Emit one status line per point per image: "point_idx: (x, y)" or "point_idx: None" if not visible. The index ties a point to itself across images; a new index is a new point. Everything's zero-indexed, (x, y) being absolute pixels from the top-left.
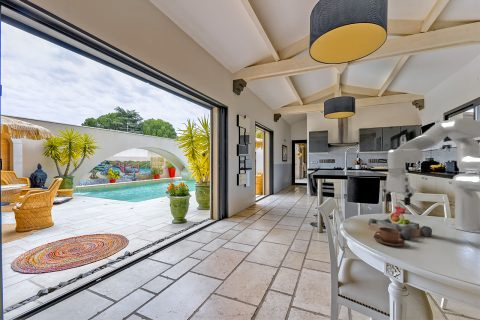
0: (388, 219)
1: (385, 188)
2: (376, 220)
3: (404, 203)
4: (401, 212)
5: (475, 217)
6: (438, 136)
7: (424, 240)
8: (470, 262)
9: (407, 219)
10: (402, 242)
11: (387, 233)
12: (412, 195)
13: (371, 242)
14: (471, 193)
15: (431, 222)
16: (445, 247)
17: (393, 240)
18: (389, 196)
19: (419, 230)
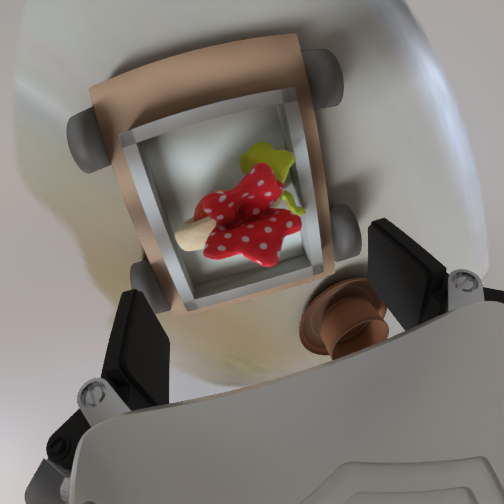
0: (164, 222)
1: (68, 483)
2: (189, 308)
3: (375, 290)
4: (266, 212)
5: None
6: None
7: (353, 151)
8: (474, 191)
9: (287, 170)
10: (368, 283)
11: None
12: (499, 295)
13: (326, 356)
14: None
15: None
16: (416, 143)
17: (371, 323)
18: (150, 371)
19: (315, 120)
